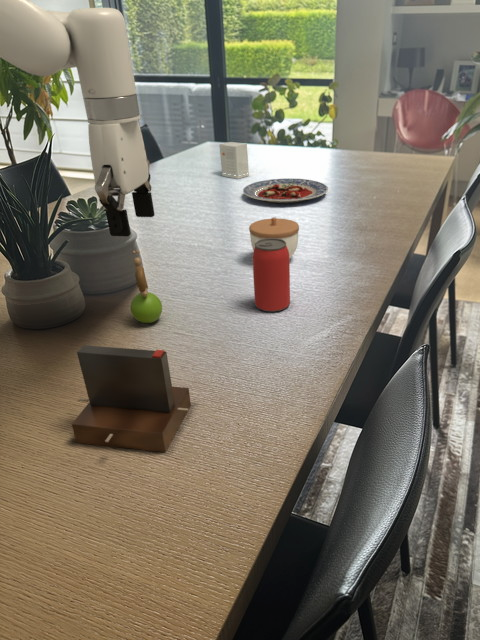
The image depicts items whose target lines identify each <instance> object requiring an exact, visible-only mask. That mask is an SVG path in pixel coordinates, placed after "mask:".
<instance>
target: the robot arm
mask: <svg viewBox="0 0 480 640" xmlns="http://www.w3.org/2000/svg"><path fill="white" fill-rule="evenodd" d="M130 50H131V49H130V44H129V37H128V31H127V24H126V20H125V17H124V15H123V14H122V12H121V11H120V10H119V9H117V8H114V7H85V8H77V9H74V10H72V11H59V10H58V11H57V10H50V9H45V8H43V7H41V6H39V5H37V4H36V3H34V2H33V1H31V0H0V58H1V59H2V60H4V61H5V62H8V63H9V64H10V65H13V66H15V67H16V68H17V69H20V70H21V71H24V72H26V73H27V74H30V75H34V76H38V77H49V76H53V75H55V74H57V73H58V72H60V71H62V70H68V69H73V68H76V70H77V75H78V80H79V85H80V90H81V95H82V99H83V104H84V109H85V115H86V118H87V123H88V125H87V127H88V129H87V130H88V144H89V145H88V146H89V154H90V160H91V167H92V174H93V178H94V191H95V193H96V195H97V197H98V198H99V199H98V201H99V203H100V204H101V206H102V210H103V211H104V212H105V215H106V221H107V225H108V230H109V234H110V236H111V237H129V236H131V235H132V234H131V233H132V232H131V226H130V222H129V216H128V211H127V209H124V207H125V199H126V195H129V194H130V193H131V197H132V203H133V208H134V214H135V216H136V217H137V218H153V217H155V215H156V213H155V209H154V201H153V196H152V195H153V194H152V185H151V183H150V182H151V175H152V174H150V166H151V165H150V164H151V163H150V160H149V159H148V157H147V152H146V147H145V143H144V138H143V133H142V130H141V125H140V122H139V121H140V120H141V114H140V113H141V112H140V107H139V100H138V94H137V88H136V81H135V76H134V69H133V62H132V56H131V51H130ZM115 197H117V200H116V198H115Z"/></svg>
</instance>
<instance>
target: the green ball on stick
mask: <svg viewBox="0 0 480 640" xmlns="http://www.w3.org/2000/svg"><path fill="white" fill-rule="evenodd" d="M132 254H133V256H134V258H133V263H134V266H135V273H134V274H135V281H136V285H137V288H138V290H139V293H138V294H136V295H135V296H133V298H132V300H131V302H130V312H131V314H132V316H133V318H134V319H136V320H137V321H138V322H139V323H143V324H150V323H154V322H155V321H157V320H159V319H160V317H161V315H162V312H163V303H162V301H161V300H160V298H159V297H158V296H157V295H156V294H155V293H152V292H149V291H148V289H149V286H148V281H147V277H146V273H145V269H144V267H143V265H142V263H143V261H142V259H141V258H140V256H139V254H140V250H136V251H135V250H133V251H132ZM136 254H137V257H136Z"/></svg>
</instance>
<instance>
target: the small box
mask: <svg viewBox="0 0 480 640" xmlns="http://www.w3.org/2000/svg"><path fill="white" fill-rule="evenodd" d="M219 157H220V168H221V176H222V177H226V178H230V179H231V178H232V179H236V180H239V179H242V178H243V179H244V178H246V177H248V176H250V171H249V155H248V143H244V142H243V143H242V142H235V141H228V142H224V143H219ZM223 173H226V174H223ZM247 173H248V174H247ZM228 174H231V175H228ZM243 174H245V175H243ZM234 175H236V176H234ZM239 175H241V176H239Z"/></svg>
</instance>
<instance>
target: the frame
mask: <svg viewBox="0 0 480 640" xmlns="http://www.w3.org/2000/svg"><path fill="white" fill-rule="evenodd" d="M76 355H77V359H78V363H79V366H80V370H81V375H82V379H83V382H84V386H85V390H86V395H87V399H89V401H88V403H89V402H90V405H97V406H107V407H117V408H128V409H138V410H148V411H159V412H169V413H170V412H171V410H172V408H173V407H174V405H175V403H174V396H173V390H172V387H173V385H172V379H171V378H172V377H171V371H170V365H169V360H168V359H169V358H168V352H167V351H165V350H164V349H156V350H152V349H151V350H149V349H139V348H126V347H114V346H113V347H111V346H101V345H99V346H98V345H86V344H84V345H82V346H81V347H80V349H78V350H77V351H76Z"/></svg>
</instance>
